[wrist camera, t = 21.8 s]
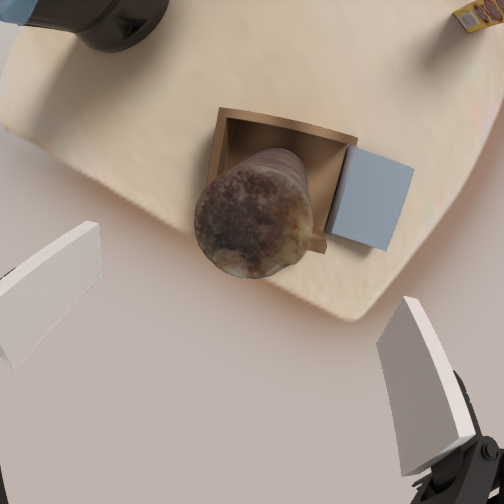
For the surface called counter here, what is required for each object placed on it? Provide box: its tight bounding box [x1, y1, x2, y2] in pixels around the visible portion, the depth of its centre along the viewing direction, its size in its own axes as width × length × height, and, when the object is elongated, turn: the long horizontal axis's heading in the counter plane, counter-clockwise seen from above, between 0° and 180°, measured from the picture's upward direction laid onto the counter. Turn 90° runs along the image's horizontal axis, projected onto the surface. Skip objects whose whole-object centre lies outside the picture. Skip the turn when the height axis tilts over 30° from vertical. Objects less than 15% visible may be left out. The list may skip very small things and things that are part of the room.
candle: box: [194, 147, 313, 279], centre depth 25 cm, size 8×7×20 cm
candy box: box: [453, 0, 504, 33], centre depth 10 cm, size 9×4×15 cm, turn 133°
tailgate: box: [325, 145, 414, 251], centre depth 32 cm, size 1×12×9 cm
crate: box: [206, 107, 358, 254], centre depth 32 cm, size 15×14×6 cm
